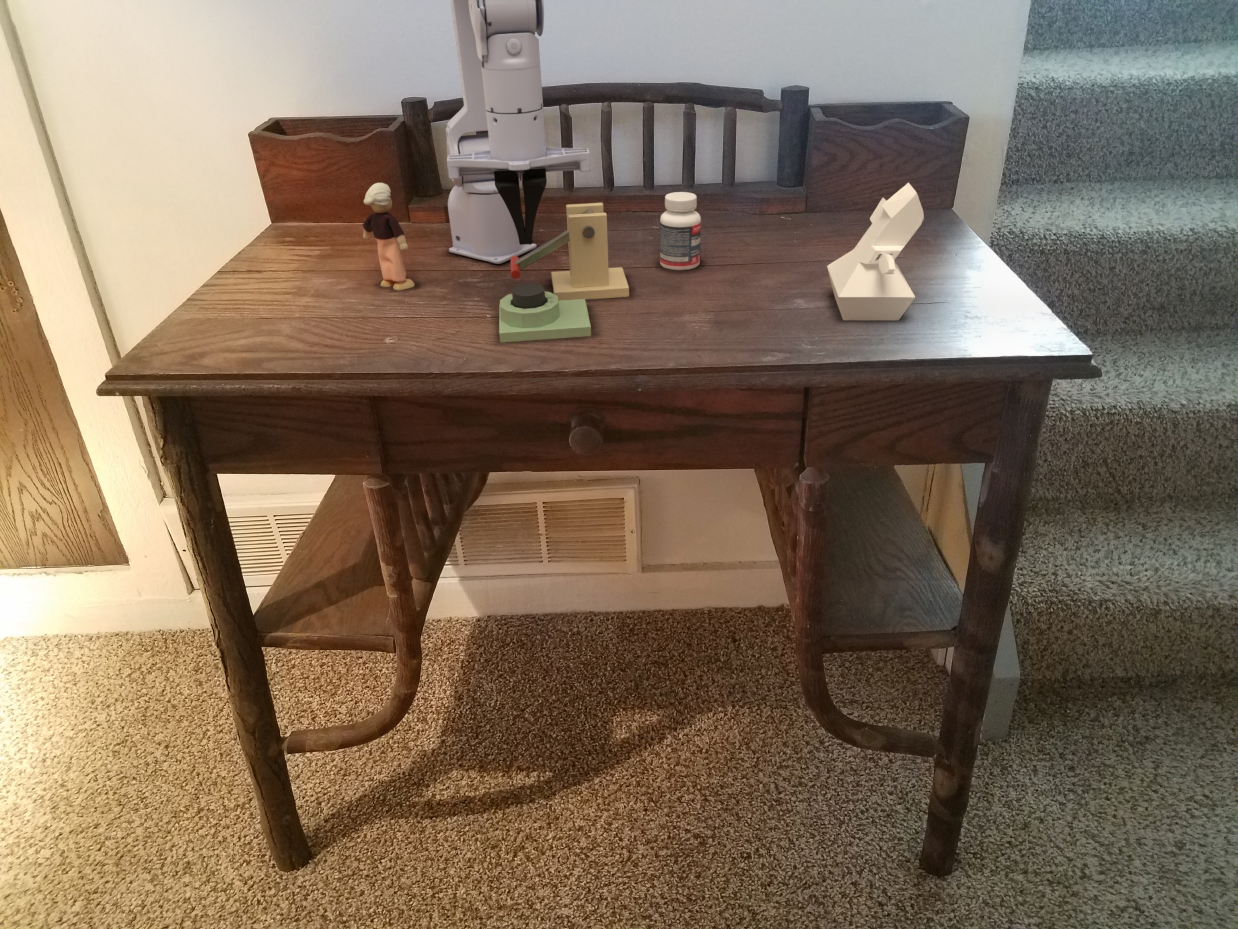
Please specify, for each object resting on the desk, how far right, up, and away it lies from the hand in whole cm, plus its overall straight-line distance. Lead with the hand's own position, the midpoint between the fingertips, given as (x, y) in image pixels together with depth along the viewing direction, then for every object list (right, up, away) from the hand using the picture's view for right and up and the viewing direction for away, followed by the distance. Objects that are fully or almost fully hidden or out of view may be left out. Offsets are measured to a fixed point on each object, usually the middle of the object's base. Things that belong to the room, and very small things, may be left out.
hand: (525, 241), depth 94 cm
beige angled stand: (+39, -6, +6) cm, 40 cm away
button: (0, -6, +3) cm, 7 cm away
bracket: (+6, -2, +13) cm, 15 cm away
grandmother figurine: (-18, -1, +16) cm, 25 cm away
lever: (+3, +1, +11) cm, 11 cm away
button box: (+2, -8, +5) cm, 10 cm away
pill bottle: (+18, +2, +20) cm, 27 cm away
